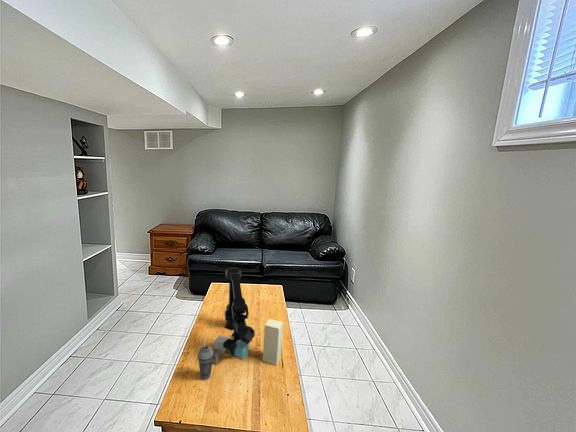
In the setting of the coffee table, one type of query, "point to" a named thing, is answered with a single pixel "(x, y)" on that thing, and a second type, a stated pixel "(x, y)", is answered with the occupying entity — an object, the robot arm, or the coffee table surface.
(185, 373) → the coffee table surface
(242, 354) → the teal long brick
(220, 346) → the grey square brick
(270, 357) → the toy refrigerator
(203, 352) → the beverage cup
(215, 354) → the walnut cube
